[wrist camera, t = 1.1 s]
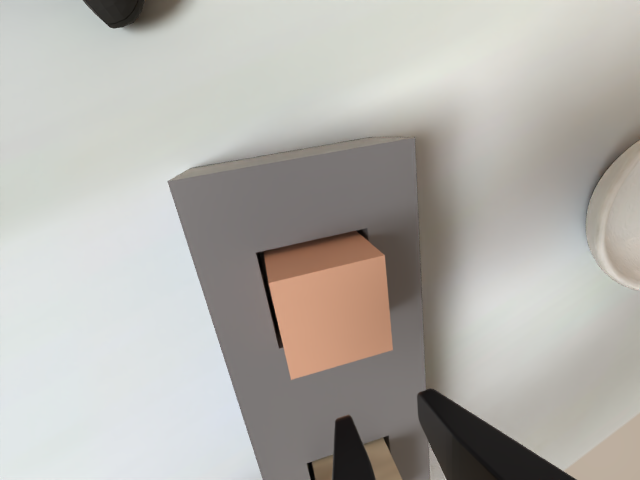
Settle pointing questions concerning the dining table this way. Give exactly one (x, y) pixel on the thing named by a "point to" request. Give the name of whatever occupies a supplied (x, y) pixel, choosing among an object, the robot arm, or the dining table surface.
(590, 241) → the spoon rest
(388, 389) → the key housing
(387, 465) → the ash key
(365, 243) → the terracotta key
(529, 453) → the robot arm
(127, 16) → the gaming controller
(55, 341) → the dining table surface
